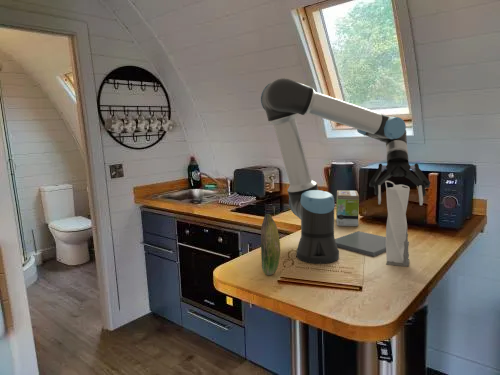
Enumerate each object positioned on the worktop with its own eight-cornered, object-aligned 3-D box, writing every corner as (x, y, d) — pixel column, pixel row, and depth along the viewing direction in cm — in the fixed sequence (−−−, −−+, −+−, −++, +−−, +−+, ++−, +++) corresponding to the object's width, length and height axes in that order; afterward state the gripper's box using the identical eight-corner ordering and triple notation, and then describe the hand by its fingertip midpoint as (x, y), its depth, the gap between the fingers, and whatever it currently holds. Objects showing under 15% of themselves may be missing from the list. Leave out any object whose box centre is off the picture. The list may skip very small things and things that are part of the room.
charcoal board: (373, 256, 138) (373, 252, 138) (328, 244, 153) (328, 241, 153) (402, 244, 150) (402, 240, 150) (358, 234, 166) (358, 231, 165)
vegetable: (280, 271, 127) (279, 212, 123) (281, 278, 120) (280, 216, 117) (261, 271, 127) (260, 212, 124) (261, 279, 121) (260, 217, 117)
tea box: (358, 226, 178) (359, 195, 176) (336, 226, 180) (336, 195, 178) (356, 218, 193) (357, 189, 191) (336, 218, 195) (336, 189, 193)
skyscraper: (381, 264, 130) (383, 182, 126) (383, 256, 138) (385, 178, 133) (408, 266, 127) (411, 183, 123) (409, 259, 134) (412, 179, 130)
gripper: (431, 161, 145) (437, 209, 133) (362, 161, 152) (362, 207, 140) (435, 148, 139) (441, 197, 127) (363, 149, 146) (363, 196, 134)
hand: (400, 202), depth 134 cm, fingers open, 13 cm apart
